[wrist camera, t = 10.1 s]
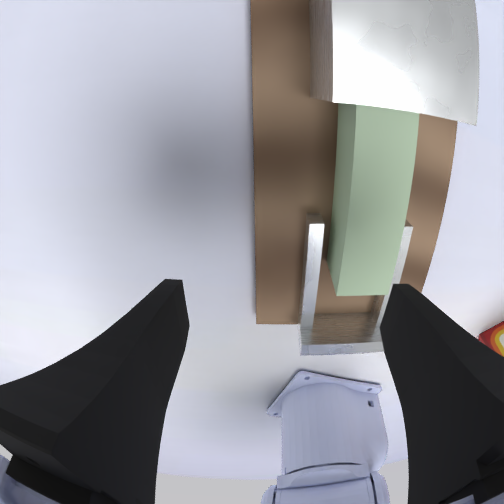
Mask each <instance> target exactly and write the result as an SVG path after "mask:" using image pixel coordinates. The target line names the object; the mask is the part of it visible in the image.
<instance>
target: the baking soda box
mask: <svg viewBox="0 0 504 504" xmlns="http://www.w3.org/2000/svg"><path fill="white" fill-rule="evenodd" d="M479 341H480V342H482V343H483V344H485V345H486V346H488V347H489V348H491V349H492V350H494V351H495V352H497V353H498V354H500V355H502V356H503V357H504V321H503V322H501V323H499V324H497V325H496V326H494V327H492V328H490V329H488V330H486V331H485V332H483V333H481V334H479Z"/></svg>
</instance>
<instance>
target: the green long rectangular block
mask: <svg viewBox="0 0 504 504" xmlns="http://www.w3.org/2000/svg"><path fill="white" fill-rule="evenodd" d="M418 126H419V113H416V112H410V111H404V110H398V109H391V108H384V107H376V106H368V105H359V104H350V103H338V128H337V149H336V166H335V181H334V194H333V206H332V217H331V227H330V237H329V246H328V255H327V264H328V268H329V271H330V275H331V278H332V282H333V285H334V289H335V293H336V296H364V295H388V293H389V289H390V285H391V282H392V278H393V274H394V270H395V266H396V262H397V258H398V253H399V249H400V245H401V240H402V235H403V230H404V225H405V220H406V215H407V210H408V204H409V198H410V192H411V185H412V179H413V172H414V164H415V156H416V147H417V137H418Z"/></svg>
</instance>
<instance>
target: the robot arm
mask: <svg viewBox="0 0 504 504" xmlns="http://www.w3.org/2000/svg"><path fill="white" fill-rule="evenodd" d="M379 328H380V333H381V338H382V343H383V348H384V353H385V356H386V359H387V362H388V365H389V368H390V371H391V374H392V377H393V380H394V383H395V387H396V390H397V393H398V396H399V399H400V403H401V407H402V411H403V417H404V423H405V430H406V438H407V448H408V463H409V489H408V504H504V357H503V356H502V355H500V354H498V353H497V352H495V351H494V350H492V349H491V348H489V347H488V346H486V345H485V344H483V343H482V342H480V341H479V340H478V339H476V338H475V337H473V336H472V335H471V334H470V333H468V332H467V331H466V330H464V329H463V328H462V327H461V326H459V325H458V324H457V323H456V322H454V321H453V320H452V319H451V318H450V317H448V316H447V315H446V314H445V313H444V312H443V311H441V310H440V309H439V308H438V307H437V306H436V305H434V304H433V303H432V302H431V301H430V300H429V299H427V298H426V297H425V296H424V295H423V294H421V293H420V292H419V291H418V290H416V289H415V288H414V287H412V286H411V285H410V284H393V286H392V289H391V293H390V296H389V299H388V303H387V306H386V309H385V312H384V315H383V318H382V321H381V324H380V327H379ZM188 331H189V319H188V313H187V307H186V301H185V295H184V289H183V282H182V280H174V279H165V280H163V281H162V282H161V283H160V284H159V285H158V286H157V287H156V288H154V289H153V290H152V291H151V292H150V293H149V294H148V295H147V296H146V297H145V298H144V299H142V300H141V301H140V302H139V303H138V304H137V305H136V306H135V307H133V308H132V309H131V310H130V311H129V312H128V313H127V314H126V315H124V316H123V317H122V318H121V319H119V320H118V321H117V322H116V323H114V324H113V325H112V326H111V327H110V328H108V329H107V330H106V331H105V332H103V333H102V334H101V335H99V336H98V337H96V338H95V339H94V340H92V341H91V342H89V343H88V344H86V345H85V346H83V347H82V348H80V349H79V350H77V351H75V352H73V353H72V354H70V355H68V356H66V357H65V358H63V359H61V360H60V361H58V362H56V363H54V364H52V365H50V366H48V367H46V368H44V369H42V370H40V371H37V372H35V373H33V374H31V375H28V376H26V377H23V378H20V379H18V380H15V381H12V382H9V383H6V384H3V385H0V444H1V445H2V446H3V447H4V448H6V449H7V450H8V451H9V452H10V453H11V454H13V456H12V458H11V461H9V460H8V459H6V458H5V457H3V456H2V455H0V504H155V487H156V475H157V465H158V456H159V449H160V442H161V436H162V430H163V424H164V419H165V413H166V409H167V405H168V401H169V398H170V395H171V392H172V389H173V386H174V383H175V379H176V376H177V373H178V370H179V367H180V364H181V361H182V358H183V354H184V351H185V347H186V342H187V336H188ZM381 390H382V387H381V386H380V385H375V384H369V383H363V382H357V381H351V380H346V379H340V378H335V377H330V376H325V375H320V374H315V373H311V372H306V371H300V372H298V373H297V374H296V375H295V376H294V378H293V379H292V380H291V381H290V383H289V384H288V385H287V386H286V388H285V389H284V390H283V391H282V393H281V394H280V395H279V396H278V397H277V399H276V400H275V401H274V402H273V404H272V405H271V406H270V407H269V408H268V409H267V414H268V415H270V416H276V417H281V418H282V475H281V476H277V485H271V486H270V487H269V488H268V489H267V490H266V491H265V492H264V494H263V496H262V500H261V504H390V501H389V493H388V488H387V484H386V481H385V479H384V477H383V476H382V475H380V474H379V473H378V471H379V470H380V468H381V467H382V466H383V464H384V462H385V460H386V457H387V452H388V437H387V433H386V428H385V424H384V419H383V415H382V411H381V407H380V403H379V398H378V395H377V394H378V393H379V392H380V391H381Z"/></svg>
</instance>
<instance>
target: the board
mask: <svg viewBox="0 0 504 504" xmlns="http://www.w3.org/2000/svg"><path fill="white" fill-rule="evenodd" d="M250 1H251V45H252V93H253V144H254V200H255V261H256V324H298V316H299V306H300V295H301V284H302V272H303V259H304V245H305V230H306V214H307V213H320V214H321V216H322V219H323V222H324V235H323V245H322V255H321V264H320V273H319V281H318V290H317V297H316V305H315V312H314V314H326V313H364V312H371V310H372V306H373V302H374V298H375V295H364V296H336V293H335V289H334V285H333V282H332V278H331V275H330V271H329V268H328V264H327V255H328V246H329V237H330V227H331V217H332V206H333V194H334V181H335V166H336V149H337V128H338V102H330V101H325V100H320V99H314V98H310V20H309V0H250ZM456 131H457V121H454V120H450V119H446V118H441V117H436V116H431V115H426V114H421V113H419V126H418V137H417V147H416V156H415V164H414V172H413V179H412V185H411V192H410V198H409V204H408V210H407V215H406V219H407V220H408V222H409V223H410V224H411V225H412V226H413V230H412V234H411V239H410V243H409V247H408V252H407V256H406V260H405V264H404V268H403V271H402V275H401V279H400V282H399V284H410V285H411V286H412V287H414V288H415V289H416V290H418V291H419V292H420V293H421V292H422V289H423V286H424V283H425V280H426V276H427V273H428V270H429V266H430V263H431V260H432V256H433V252H434V249H435V245H436V241H437V237H438V233H439V229H440V225H441V221H442V217H443V212H444V207H445V203H446V198H447V192H448V187H449V181H450V176H451V169H452V163H453V156H454V148H455V140H456Z"/></svg>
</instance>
